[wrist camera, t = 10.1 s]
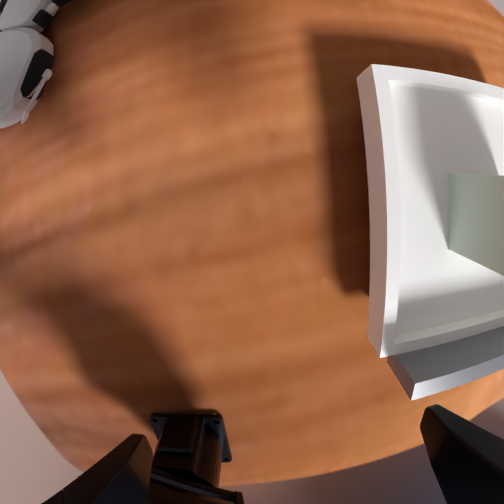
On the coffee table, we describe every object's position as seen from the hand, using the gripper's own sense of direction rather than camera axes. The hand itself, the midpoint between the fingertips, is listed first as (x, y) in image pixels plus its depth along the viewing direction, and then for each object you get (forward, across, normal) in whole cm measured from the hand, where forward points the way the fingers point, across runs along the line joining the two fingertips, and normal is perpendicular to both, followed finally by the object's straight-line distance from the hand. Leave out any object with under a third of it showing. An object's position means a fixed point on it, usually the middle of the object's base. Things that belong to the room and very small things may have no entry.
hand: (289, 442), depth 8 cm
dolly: (+13, -13, -5) cm, 19 cm away
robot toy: (+13, +18, -22) cm, 31 cm away
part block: (+9, -13, -5) cm, 17 cm away
